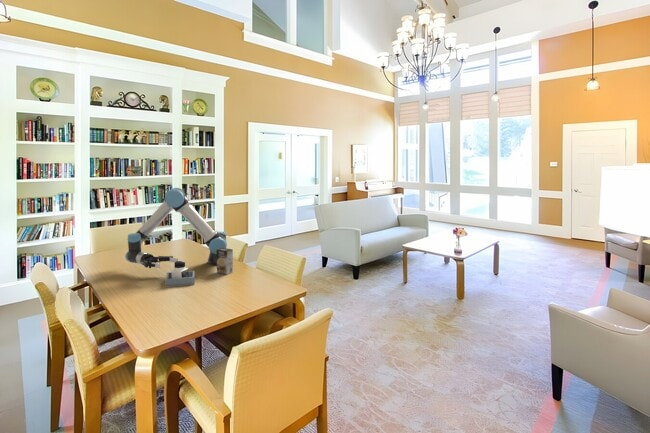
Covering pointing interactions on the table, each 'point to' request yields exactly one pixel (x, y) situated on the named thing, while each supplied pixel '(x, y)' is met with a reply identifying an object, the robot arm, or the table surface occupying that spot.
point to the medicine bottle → (180, 270)
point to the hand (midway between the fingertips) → (168, 263)
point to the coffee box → (224, 261)
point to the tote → (180, 280)
